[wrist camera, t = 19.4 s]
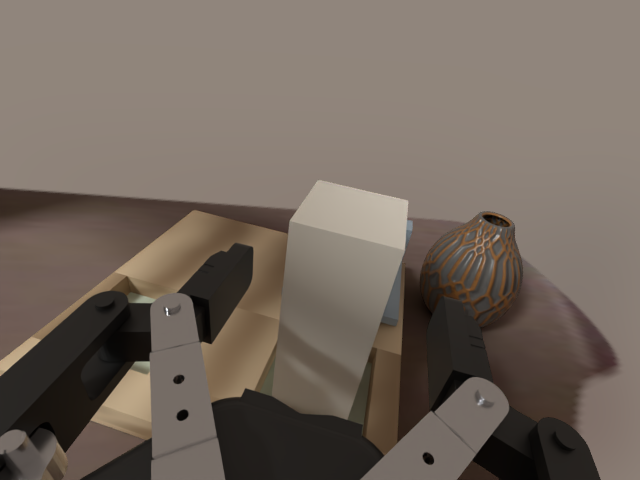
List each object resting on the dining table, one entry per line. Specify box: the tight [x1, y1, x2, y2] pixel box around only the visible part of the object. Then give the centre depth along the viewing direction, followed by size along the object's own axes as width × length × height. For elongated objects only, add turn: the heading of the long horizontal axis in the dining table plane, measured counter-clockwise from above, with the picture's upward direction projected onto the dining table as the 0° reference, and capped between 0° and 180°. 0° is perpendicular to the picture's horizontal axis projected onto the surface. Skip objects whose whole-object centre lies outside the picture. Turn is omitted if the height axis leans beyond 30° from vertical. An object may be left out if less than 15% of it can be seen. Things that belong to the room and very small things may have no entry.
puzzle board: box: [0, 210, 405, 456], centre depth 23 cm, size 20×18×2 cm
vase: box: [420, 211, 523, 327], centre depth 25 cm, size 7×7×9 cm
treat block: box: [272, 180, 408, 420], centre depth 16 cm, size 4×4×12 cm
